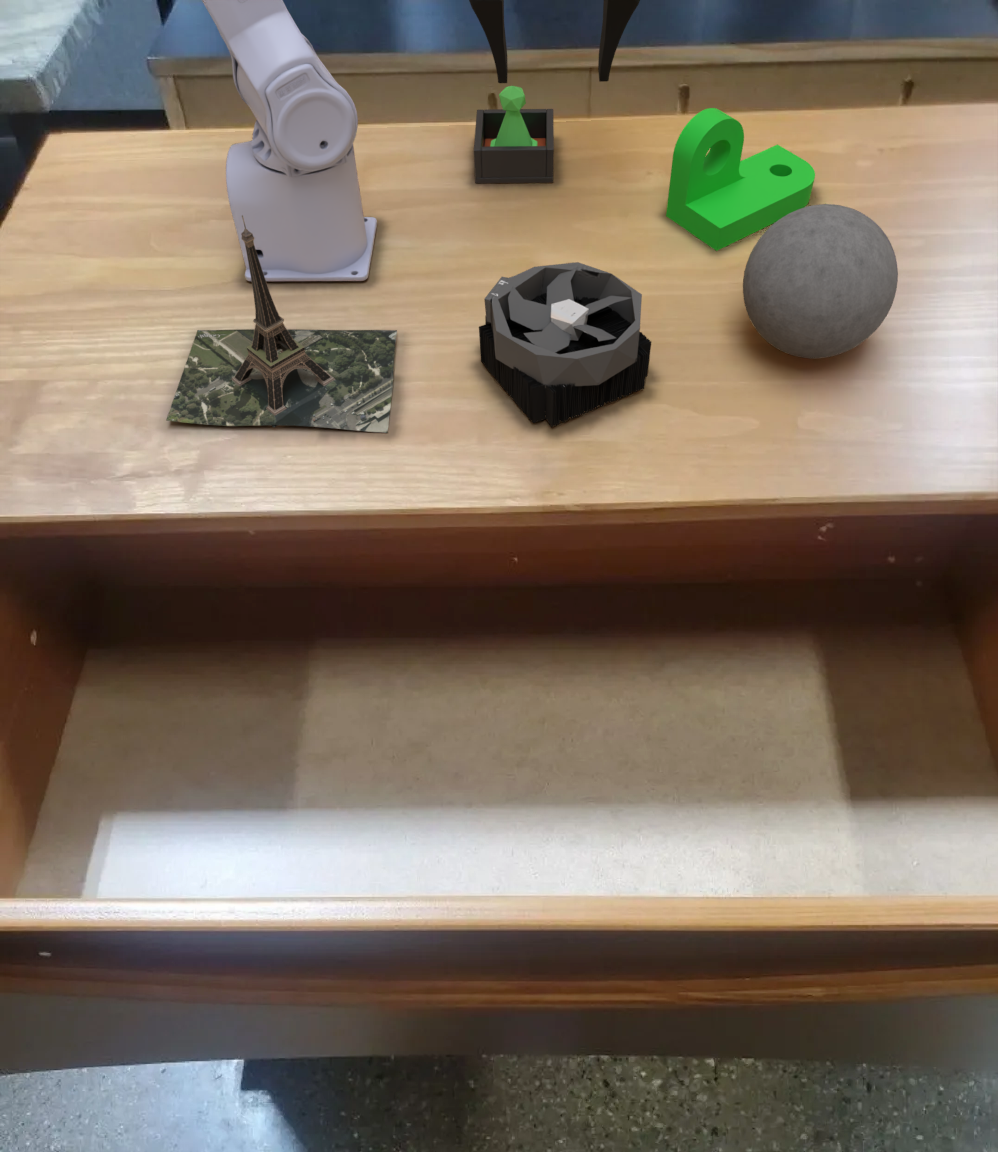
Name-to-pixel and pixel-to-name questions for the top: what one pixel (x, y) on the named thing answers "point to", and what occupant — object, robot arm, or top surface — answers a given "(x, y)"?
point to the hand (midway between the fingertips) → (553, 76)
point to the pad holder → (514, 149)
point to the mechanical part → (731, 182)
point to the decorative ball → (820, 281)
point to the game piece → (513, 120)
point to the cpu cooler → (564, 340)
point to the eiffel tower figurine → (286, 372)
